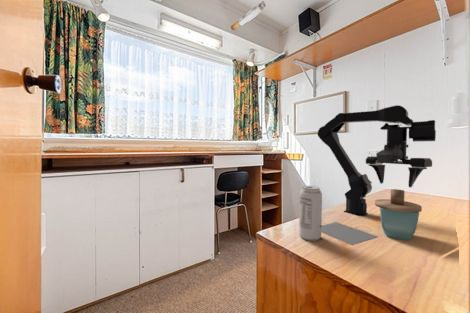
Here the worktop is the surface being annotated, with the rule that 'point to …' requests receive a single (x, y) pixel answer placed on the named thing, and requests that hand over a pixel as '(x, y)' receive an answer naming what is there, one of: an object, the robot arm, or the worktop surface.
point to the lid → (398, 203)
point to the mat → (346, 233)
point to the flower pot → (399, 223)
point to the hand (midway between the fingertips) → (395, 185)
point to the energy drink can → (310, 213)
